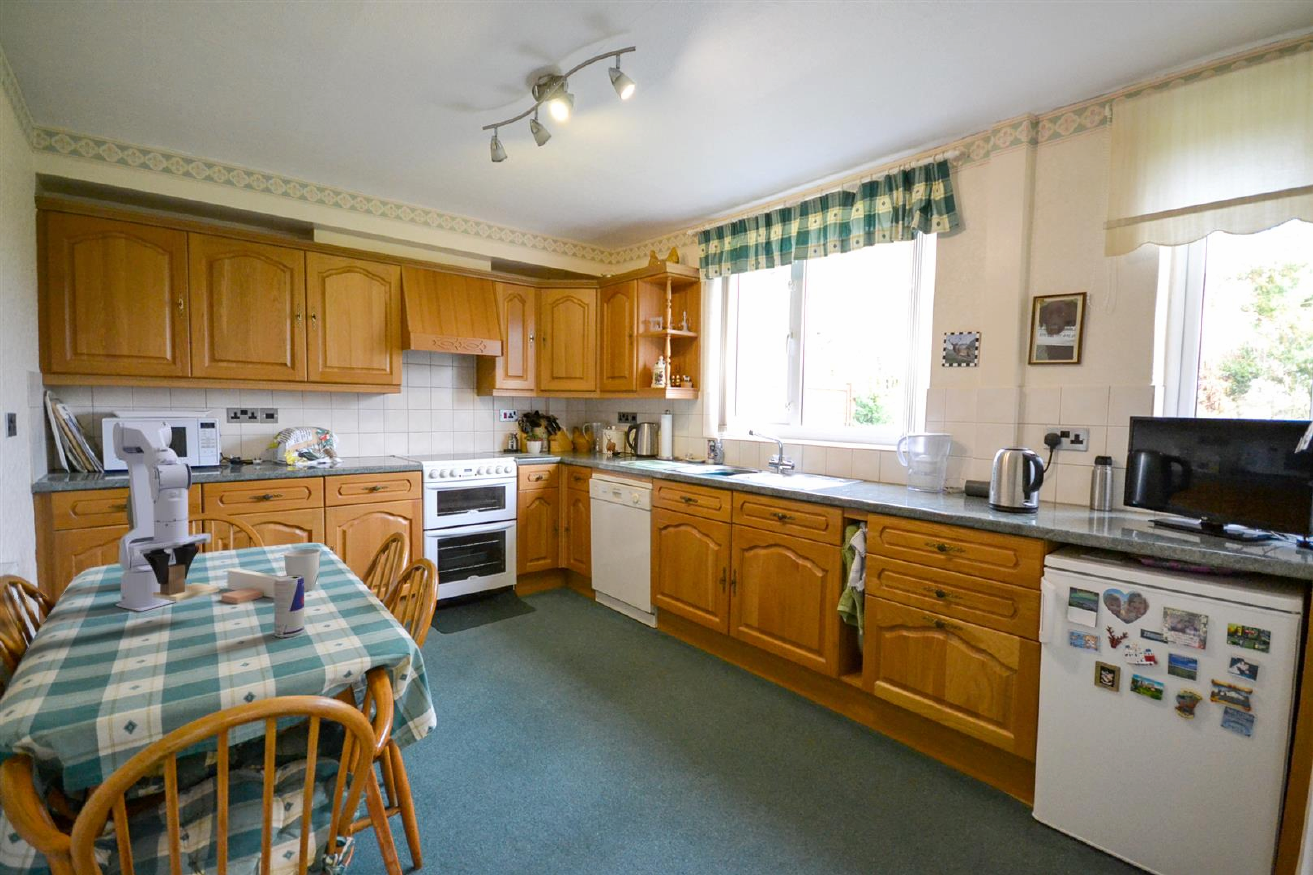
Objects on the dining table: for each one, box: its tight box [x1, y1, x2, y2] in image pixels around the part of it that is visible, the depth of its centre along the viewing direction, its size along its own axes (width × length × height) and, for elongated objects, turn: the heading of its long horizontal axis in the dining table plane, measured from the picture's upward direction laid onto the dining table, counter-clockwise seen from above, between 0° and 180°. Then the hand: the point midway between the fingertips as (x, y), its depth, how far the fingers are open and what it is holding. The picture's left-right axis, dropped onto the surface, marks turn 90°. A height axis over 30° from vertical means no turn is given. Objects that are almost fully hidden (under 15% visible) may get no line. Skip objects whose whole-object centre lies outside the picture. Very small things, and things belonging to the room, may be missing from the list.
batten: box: [226, 568, 281, 599], centre depth 144 cm, size 22×2×5 cm, turn 70°
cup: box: [283, 547, 321, 593], centre depth 148 cm, size 8×8×10 cm
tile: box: [221, 588, 264, 605], centre depth 140 cm, size 6×6×2 cm
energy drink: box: [273, 574, 305, 639], centre depth 119 cm, size 5×5×12 cm
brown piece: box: [153, 562, 220, 603], centre depth 125 cm, size 8×8×7 cm
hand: (172, 581), depth 122 cm, fingers closed on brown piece, 3 cm apart
